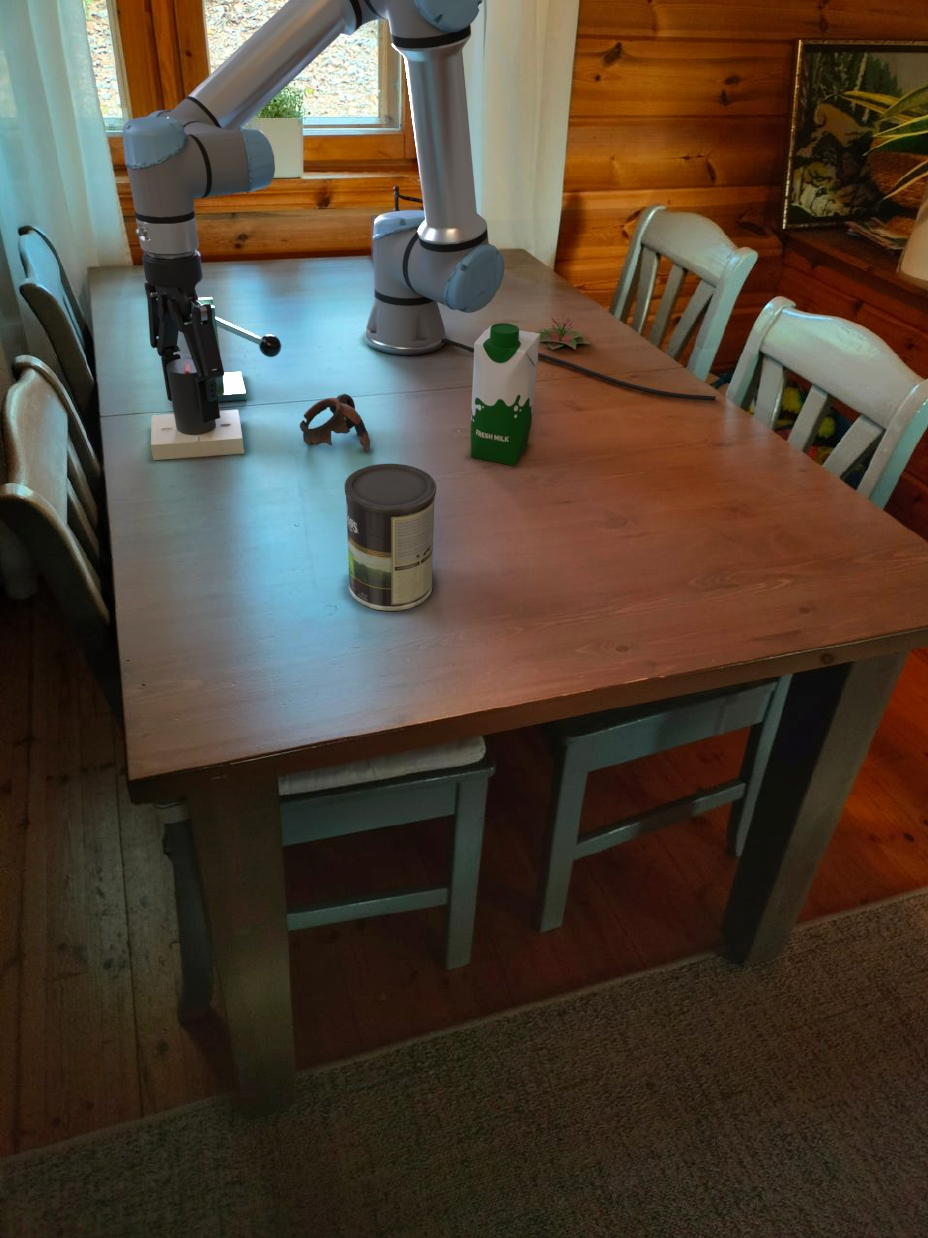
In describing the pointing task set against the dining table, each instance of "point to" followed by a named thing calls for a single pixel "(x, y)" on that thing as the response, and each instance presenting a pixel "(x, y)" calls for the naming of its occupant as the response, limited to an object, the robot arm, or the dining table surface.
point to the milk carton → (503, 392)
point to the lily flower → (561, 336)
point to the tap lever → (254, 338)
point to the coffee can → (390, 535)
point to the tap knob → (186, 398)
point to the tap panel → (196, 438)
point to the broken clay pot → (334, 421)
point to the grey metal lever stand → (230, 383)
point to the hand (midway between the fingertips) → (193, 408)
